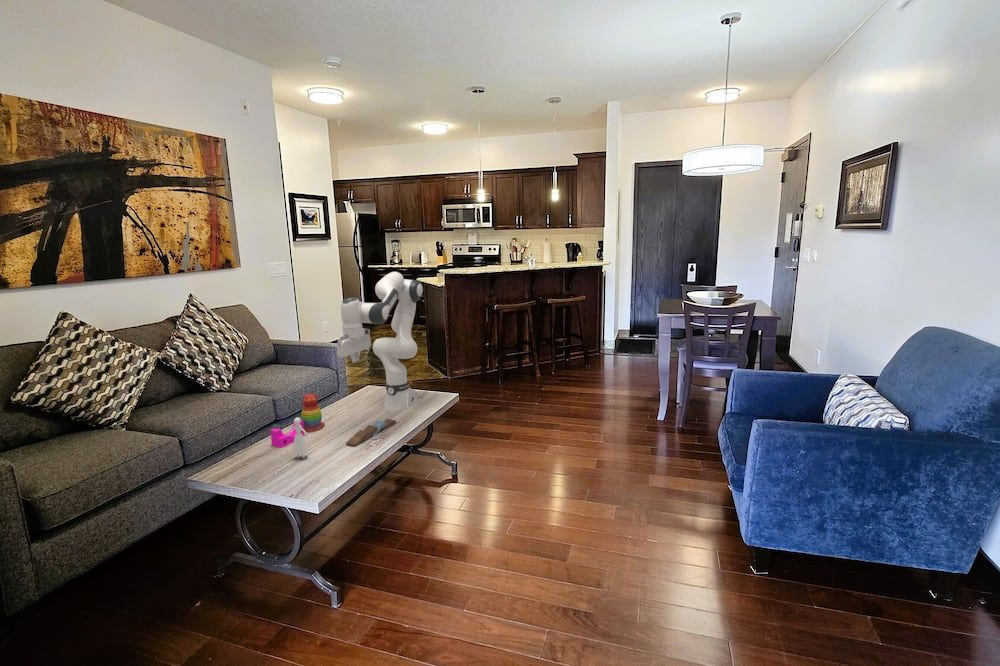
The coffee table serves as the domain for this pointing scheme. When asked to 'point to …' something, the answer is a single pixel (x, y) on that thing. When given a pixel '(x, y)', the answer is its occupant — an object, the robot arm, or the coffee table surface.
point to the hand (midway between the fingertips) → (355, 361)
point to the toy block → (283, 436)
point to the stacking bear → (311, 414)
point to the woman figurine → (299, 439)
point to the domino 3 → (378, 425)
